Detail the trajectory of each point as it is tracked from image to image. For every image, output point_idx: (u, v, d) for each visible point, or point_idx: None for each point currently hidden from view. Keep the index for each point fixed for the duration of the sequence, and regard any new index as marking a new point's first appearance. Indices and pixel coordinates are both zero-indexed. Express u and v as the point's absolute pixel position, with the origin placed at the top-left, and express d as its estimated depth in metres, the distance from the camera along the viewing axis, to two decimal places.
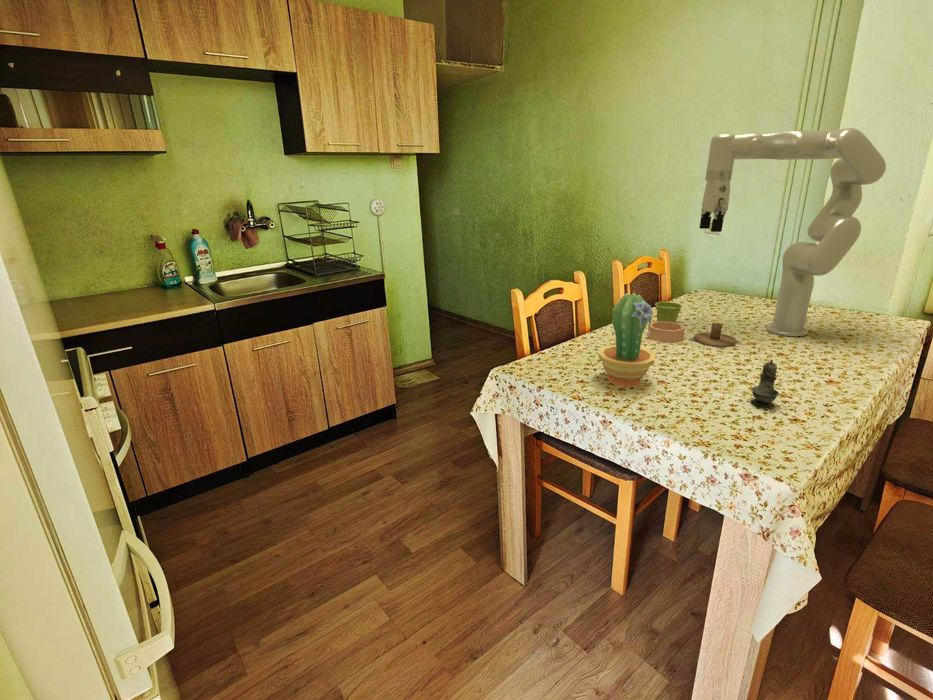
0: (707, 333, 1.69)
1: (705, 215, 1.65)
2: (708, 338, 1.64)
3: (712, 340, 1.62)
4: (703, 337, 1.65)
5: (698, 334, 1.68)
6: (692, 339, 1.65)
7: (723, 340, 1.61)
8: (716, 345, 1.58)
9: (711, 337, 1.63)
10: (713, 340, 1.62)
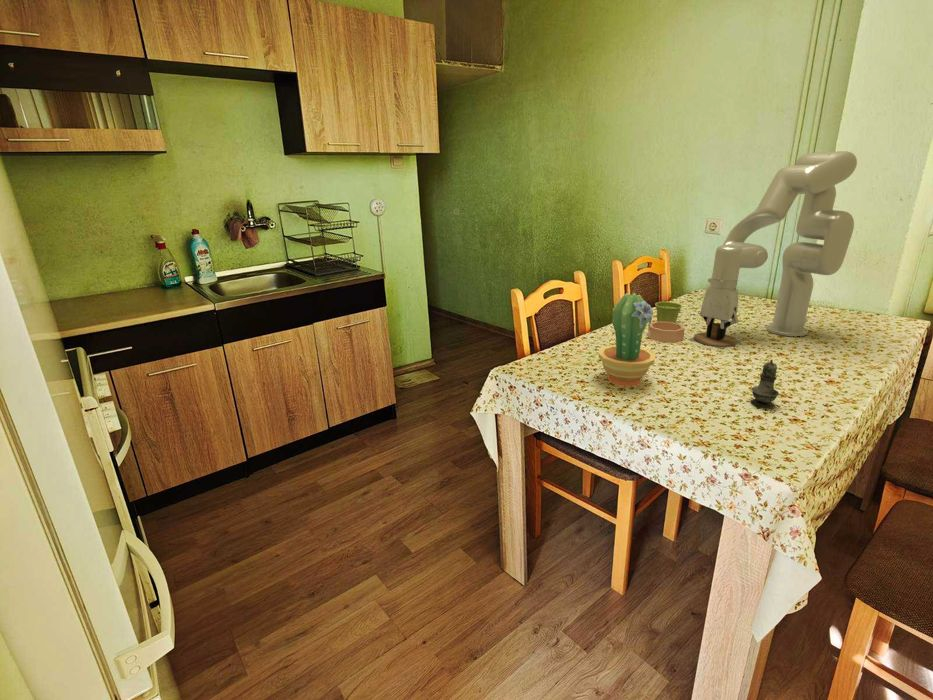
0: None
1: None
2: (708, 338, 1.64)
3: (712, 340, 1.62)
4: (703, 337, 1.65)
5: (698, 334, 1.68)
6: (692, 339, 1.65)
7: (723, 340, 1.61)
8: (716, 345, 1.58)
9: (711, 337, 1.63)
10: (713, 340, 1.62)
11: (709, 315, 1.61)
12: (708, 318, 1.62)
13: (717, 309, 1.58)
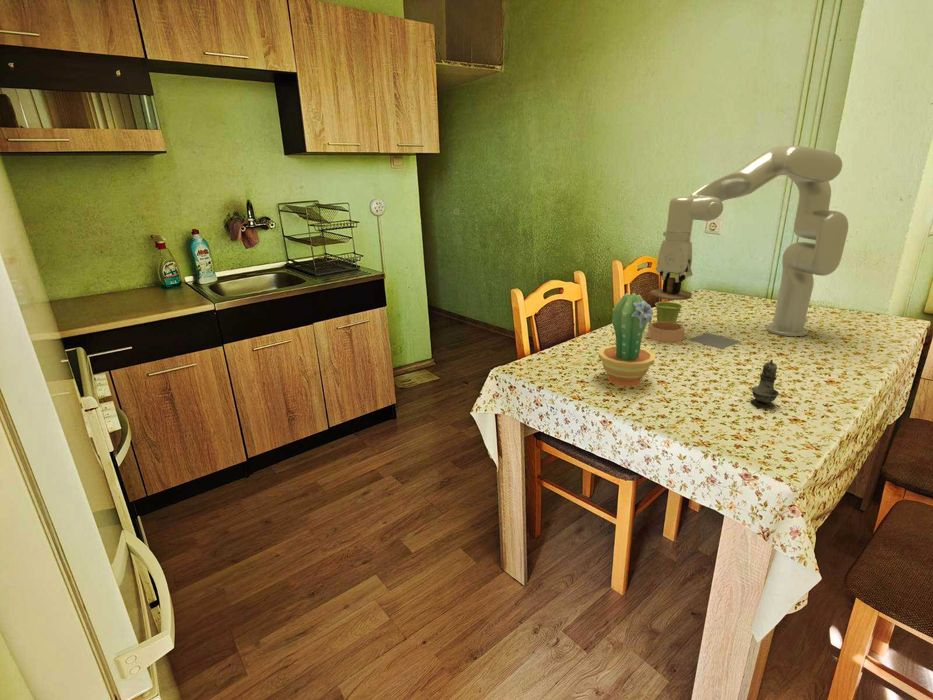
0: None
1: None
2: (664, 293, 1.63)
3: (667, 294, 1.61)
4: (659, 292, 1.64)
5: (655, 290, 1.67)
6: (692, 339, 1.65)
7: (678, 294, 1.61)
8: (670, 298, 1.57)
9: (667, 292, 1.62)
10: (668, 294, 1.61)
11: (664, 269, 1.60)
12: (664, 272, 1.62)
13: (671, 262, 1.57)
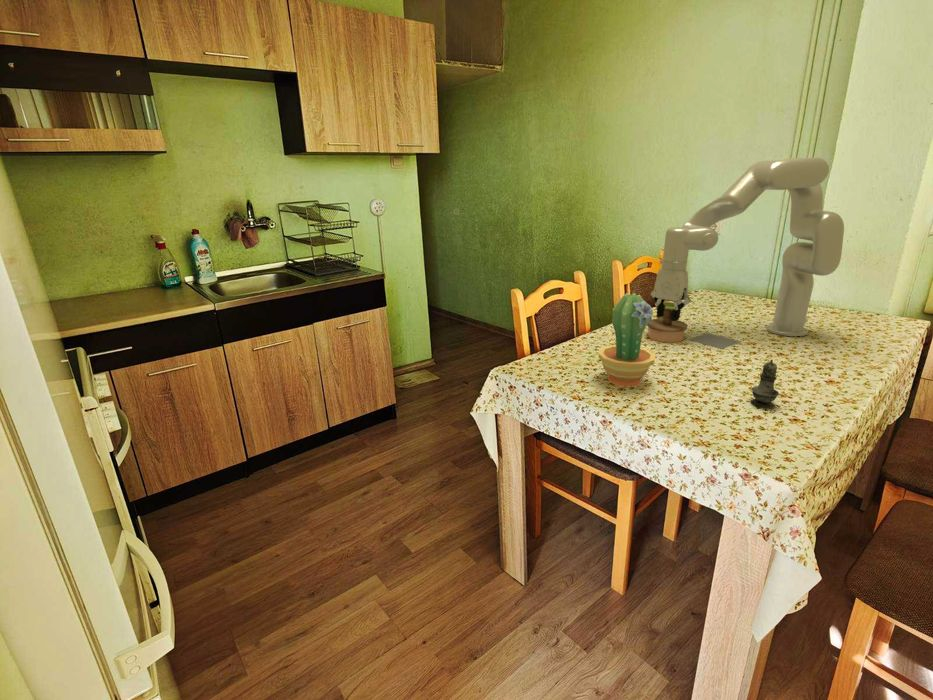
0: (661, 319, 1.72)
1: None
2: (660, 324, 1.67)
3: (664, 325, 1.65)
4: (656, 323, 1.68)
5: (652, 320, 1.71)
6: (692, 339, 1.65)
7: (674, 325, 1.64)
8: (666, 330, 1.61)
9: (663, 323, 1.66)
10: (665, 325, 1.65)
11: (661, 296, 1.63)
12: (659, 299, 1.66)
13: (668, 290, 1.60)
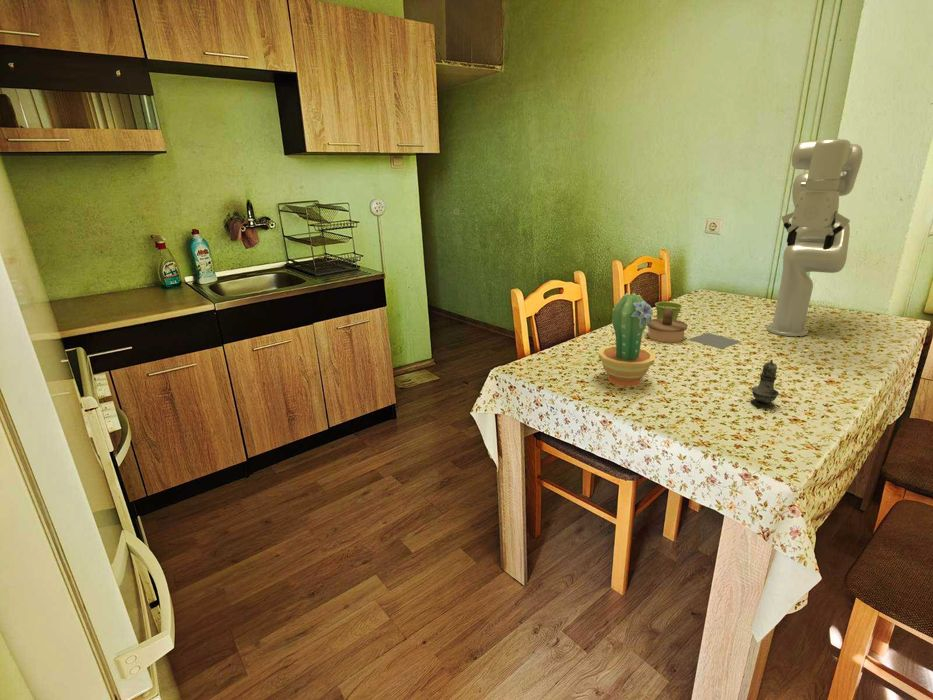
0: (661, 319, 1.72)
1: None
2: (660, 324, 1.67)
3: (664, 325, 1.65)
4: (656, 323, 1.68)
5: (652, 320, 1.71)
6: (692, 339, 1.65)
7: (674, 325, 1.64)
8: (666, 330, 1.61)
9: (663, 323, 1.66)
10: (665, 325, 1.65)
11: (802, 224, 1.41)
12: None
13: (813, 215, 1.38)
